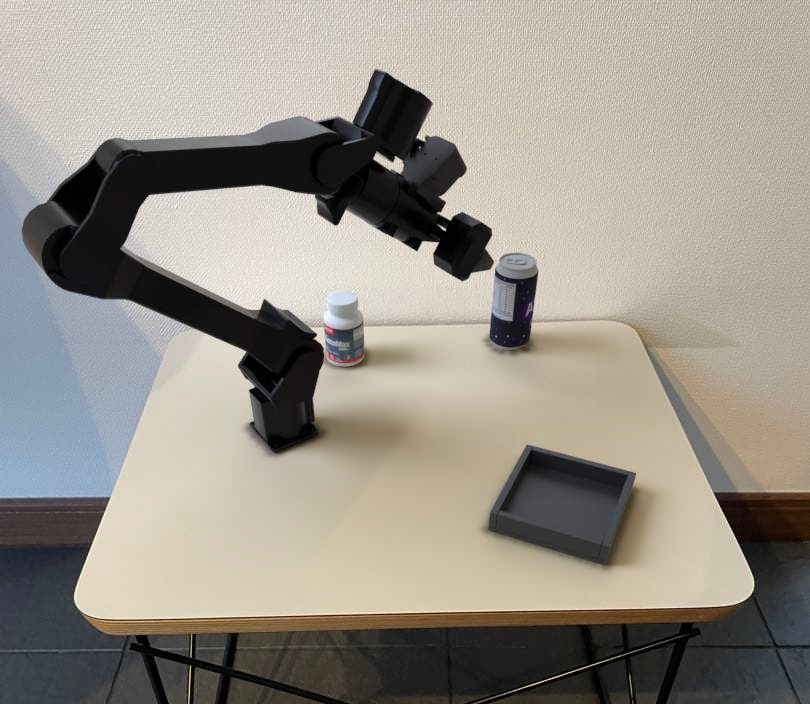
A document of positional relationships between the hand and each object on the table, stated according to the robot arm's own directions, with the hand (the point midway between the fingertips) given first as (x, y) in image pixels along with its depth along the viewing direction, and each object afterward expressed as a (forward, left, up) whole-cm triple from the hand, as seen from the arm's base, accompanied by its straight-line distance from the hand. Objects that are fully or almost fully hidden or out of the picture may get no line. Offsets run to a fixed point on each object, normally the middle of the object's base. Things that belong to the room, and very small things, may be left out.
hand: (467, 251), depth 94 cm
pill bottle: (-12, +10, -16) cm, 22 cm away
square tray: (-9, -30, -15) cm, 35 cm away
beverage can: (+9, 0, -16) cm, 18 cm away
